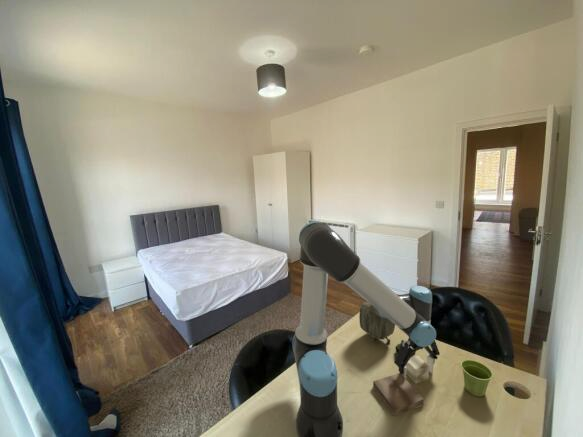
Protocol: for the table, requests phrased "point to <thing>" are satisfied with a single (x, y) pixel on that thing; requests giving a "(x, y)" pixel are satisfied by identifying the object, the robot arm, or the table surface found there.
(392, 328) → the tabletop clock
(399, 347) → the tape measure
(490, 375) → the plant pot
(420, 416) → the table surface
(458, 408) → the table surface
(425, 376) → the cube
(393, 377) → the stand
